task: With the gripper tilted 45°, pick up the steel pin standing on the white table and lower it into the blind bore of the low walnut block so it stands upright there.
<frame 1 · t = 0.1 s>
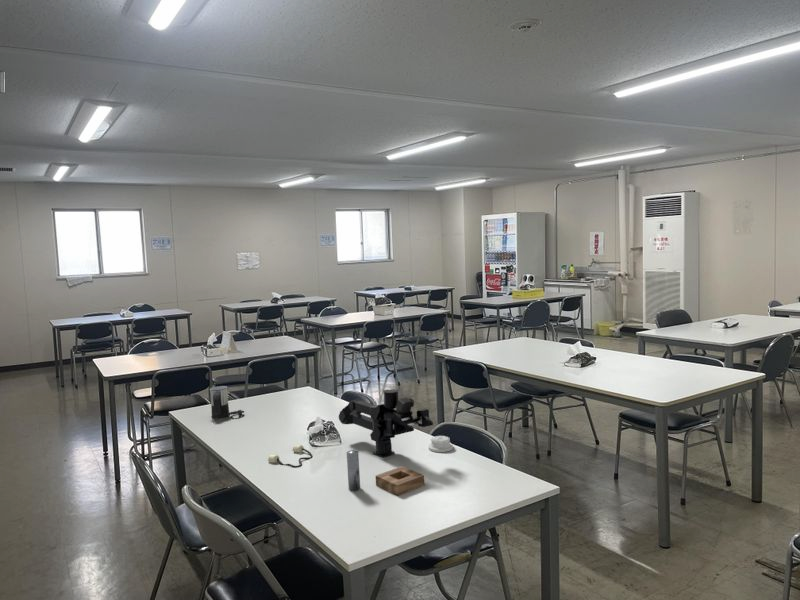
hand: (423, 426, 211), 17 cm above the table, tool horizontal, fingers open, 9 cm apart
cable: (295, 460, 232), on the table
walnut bore block: (400, 485, 200), on the table
mechanical component: (440, 449, 235), on the table
steel pin: (354, 488, 199), on the table
milk frother: (227, 416, 300), on the table
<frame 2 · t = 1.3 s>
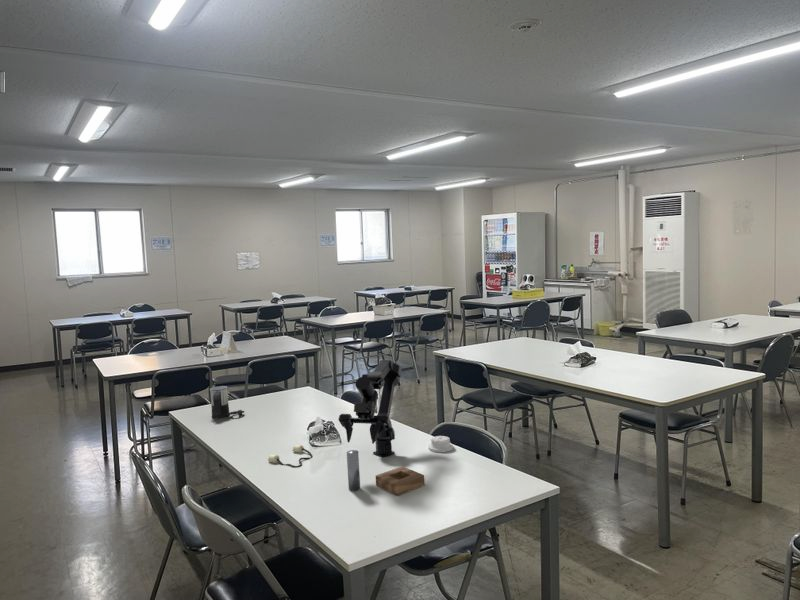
hand: (360, 442, 205), 14 cm above the table, tool tilted 45°, fingers open, 9 cm apart
nothing on the table moved.
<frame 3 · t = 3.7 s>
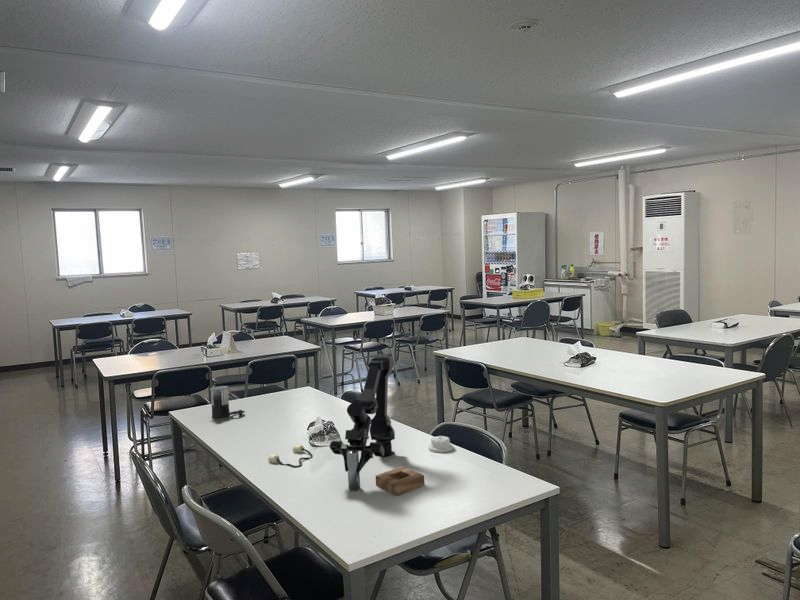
hand: (352, 471, 197), 7 cm above the table, tool tilted 45°, fingers closed on steel pin, 4 cm apart
steel pin: (354, 488, 199), on the table, touching gripper
everything else where it was.
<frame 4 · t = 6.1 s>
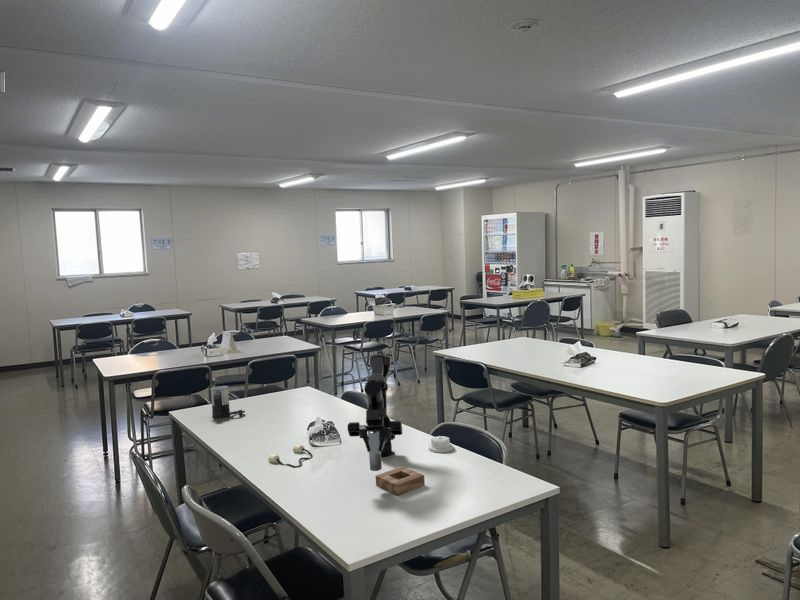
hand: (374, 451, 196), 13 cm above the table, tool tilted 45°, fingers closed on steel pin, 4 cm apart
steel pin: (375, 468, 198), point 7 cm above the table, touching gripper
everything else where it was.
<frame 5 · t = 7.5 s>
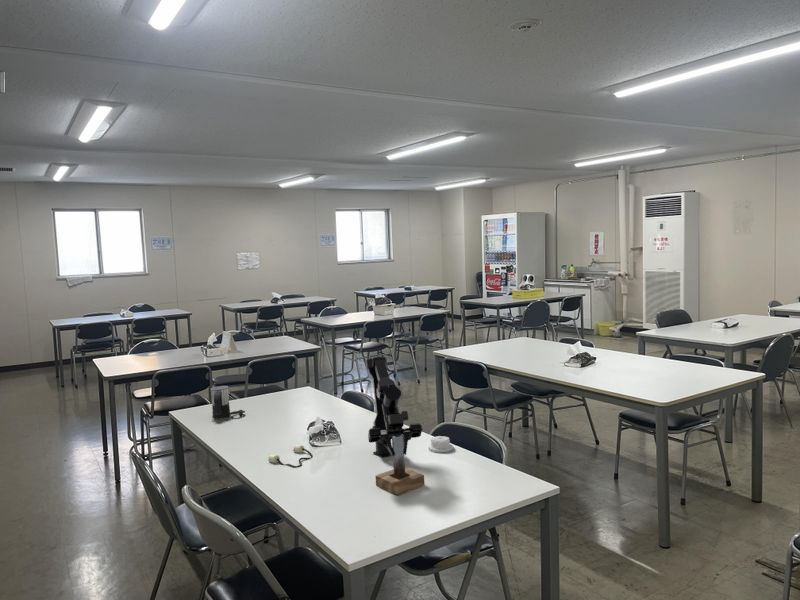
hand: (399, 455, 198), 11 cm above the table, tool tilted 45°, fingers closed on steel pin, 4 cm apart
steel pin: (399, 472, 200), point 5 cm above the table, touching gripper
everything else where it was.
when the fingers open (8 cm above the table, at t = 8.5 s): steel pin stays where it is, resting on walnut bore block.
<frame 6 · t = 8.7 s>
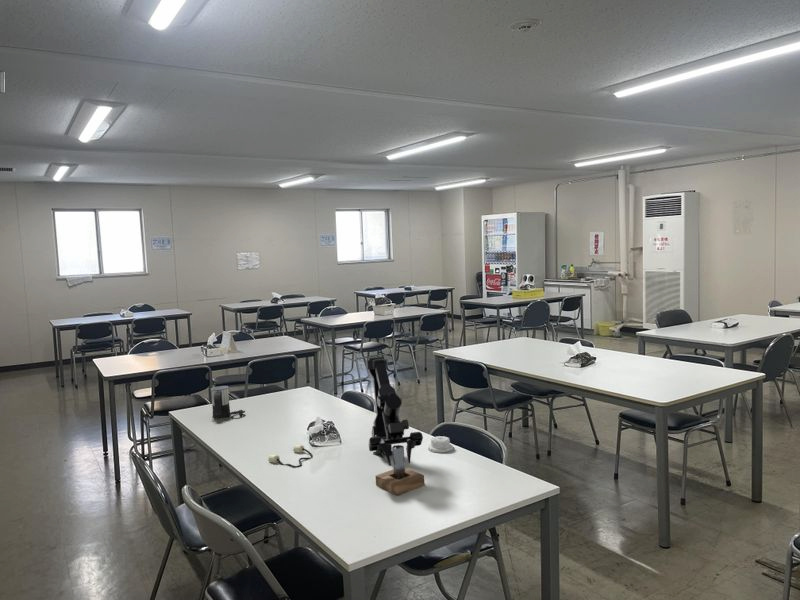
hand: (399, 463, 198), 8 cm above the table, tool tilted 45°, fingers open, 6 cm apart
steel pin: (400, 483, 200), point 1 cm above the table, touching walnut bore block
everything else where it was.
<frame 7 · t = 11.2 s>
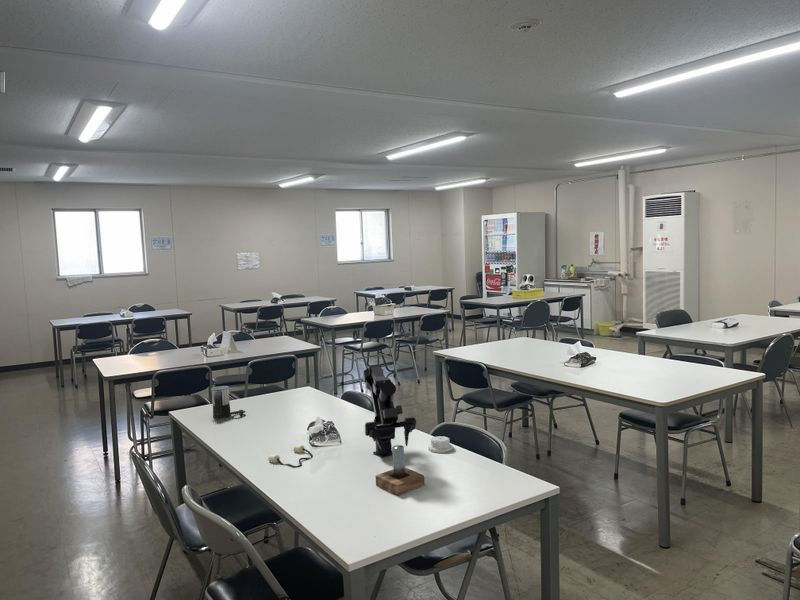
hand: (394, 447, 207), 11 cm above the table, tool tilted 45°, fingers open, 9 cm apart
nothing on the table moved.
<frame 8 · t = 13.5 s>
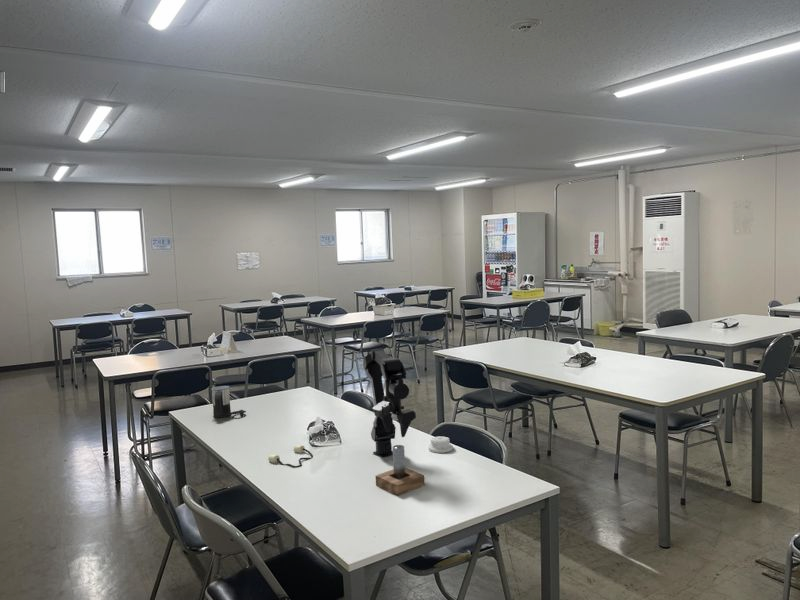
hand: (395, 434, 215), 13 cm above the table, tool pointing down, fingers open, 9 cm apart
nothing on the table moved.
at the end: steel pin 0.0 cm off-centre on the walnut bore block, point 0.5 cm above the walnut bore block's base; steel pin tilted 1°; the gripper is holding nothing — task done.
